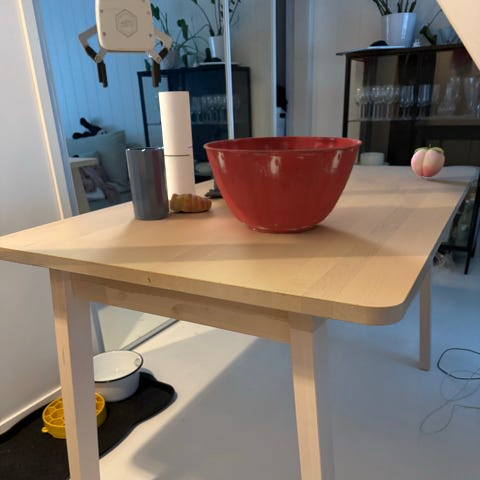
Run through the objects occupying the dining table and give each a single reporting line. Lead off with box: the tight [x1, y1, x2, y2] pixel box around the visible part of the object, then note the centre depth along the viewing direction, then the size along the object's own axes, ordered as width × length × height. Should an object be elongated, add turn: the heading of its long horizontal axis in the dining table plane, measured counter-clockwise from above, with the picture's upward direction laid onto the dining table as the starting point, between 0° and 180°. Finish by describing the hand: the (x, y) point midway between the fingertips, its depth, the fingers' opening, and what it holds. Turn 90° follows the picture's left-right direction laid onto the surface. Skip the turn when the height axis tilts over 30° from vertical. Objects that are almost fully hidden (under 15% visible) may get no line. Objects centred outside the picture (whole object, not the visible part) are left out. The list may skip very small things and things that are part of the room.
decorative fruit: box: [410, 143, 446, 178], centre depth 136 cm, size 9×8×10 cm
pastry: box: [169, 193, 213, 213], centre depth 105 cm, size 9×7×4 cm
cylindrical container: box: [158, 90, 197, 201], centre depth 115 cm, size 7×7×25 cm
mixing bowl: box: [203, 135, 363, 234], centre depth 87 cm, size 28×28×15 cm
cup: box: [125, 146, 171, 221], centre depth 98 cm, size 8×8×14 cm
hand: (131, 87), depth 89 cm, fingers open, 9 cm apart
